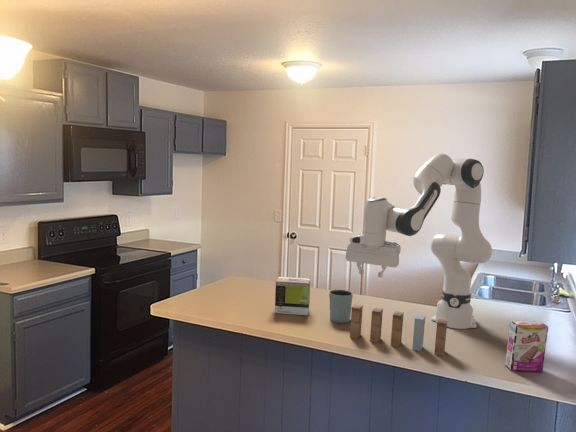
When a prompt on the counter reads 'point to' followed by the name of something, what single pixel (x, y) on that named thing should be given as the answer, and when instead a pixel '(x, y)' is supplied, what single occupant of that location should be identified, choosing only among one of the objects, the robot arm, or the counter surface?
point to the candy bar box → (526, 346)
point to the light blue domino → (418, 332)
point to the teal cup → (340, 305)
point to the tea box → (292, 295)
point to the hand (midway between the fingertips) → (370, 275)
